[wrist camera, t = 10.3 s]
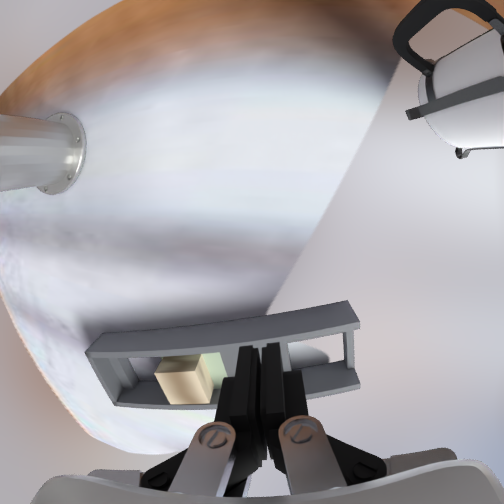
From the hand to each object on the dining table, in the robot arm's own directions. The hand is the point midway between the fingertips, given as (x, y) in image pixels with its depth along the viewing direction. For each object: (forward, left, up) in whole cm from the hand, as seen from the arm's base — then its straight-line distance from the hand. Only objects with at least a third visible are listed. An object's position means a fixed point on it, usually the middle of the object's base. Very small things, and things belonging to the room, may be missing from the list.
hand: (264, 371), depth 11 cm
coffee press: (+27, +15, -24) cm, 39 cm away
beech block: (-15, -16, -22) cm, 31 cm away
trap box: (-10, -15, -24) cm, 30 cm away
